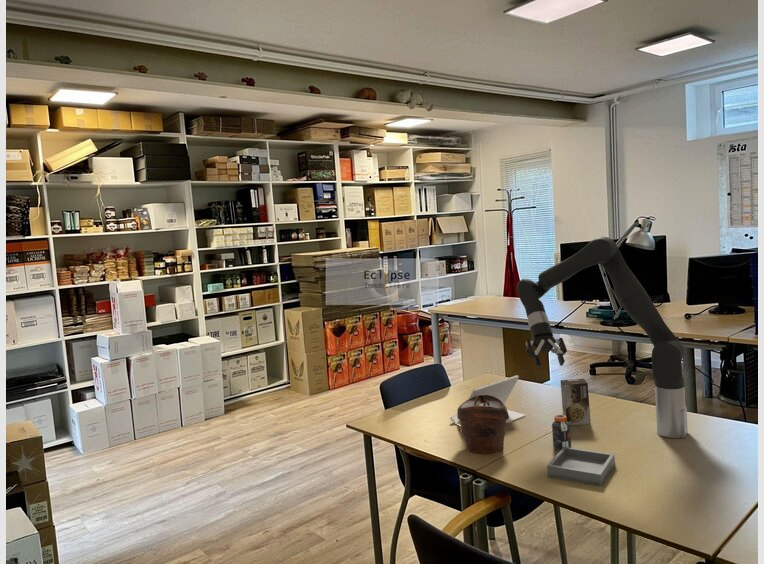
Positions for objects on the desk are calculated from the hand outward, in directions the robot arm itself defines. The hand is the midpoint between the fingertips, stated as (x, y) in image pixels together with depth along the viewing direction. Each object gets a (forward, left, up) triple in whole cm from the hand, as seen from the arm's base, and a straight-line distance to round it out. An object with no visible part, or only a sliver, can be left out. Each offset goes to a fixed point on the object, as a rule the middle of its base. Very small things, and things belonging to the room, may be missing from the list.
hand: (550, 365), depth 207 cm
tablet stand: (+30, -7, -27) cm, 41 cm away
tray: (-17, +25, -26) cm, 40 cm away
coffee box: (-3, -16, -26) cm, 31 cm away
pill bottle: (-6, +10, -26) cm, 29 cm away
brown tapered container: (+19, +19, -26) cm, 38 cm away
